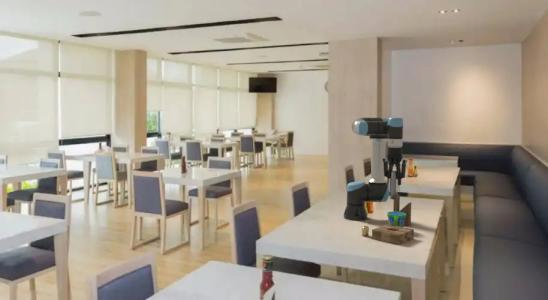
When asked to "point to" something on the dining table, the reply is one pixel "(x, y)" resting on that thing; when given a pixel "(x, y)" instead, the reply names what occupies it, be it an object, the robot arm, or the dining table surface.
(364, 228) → the short brass pin
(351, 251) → the dining table surface
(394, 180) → the long steel pin
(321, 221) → the dining table surface
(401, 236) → the hole block
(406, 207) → the brown forked bracket
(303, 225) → the dining table surface
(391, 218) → the snack cup
